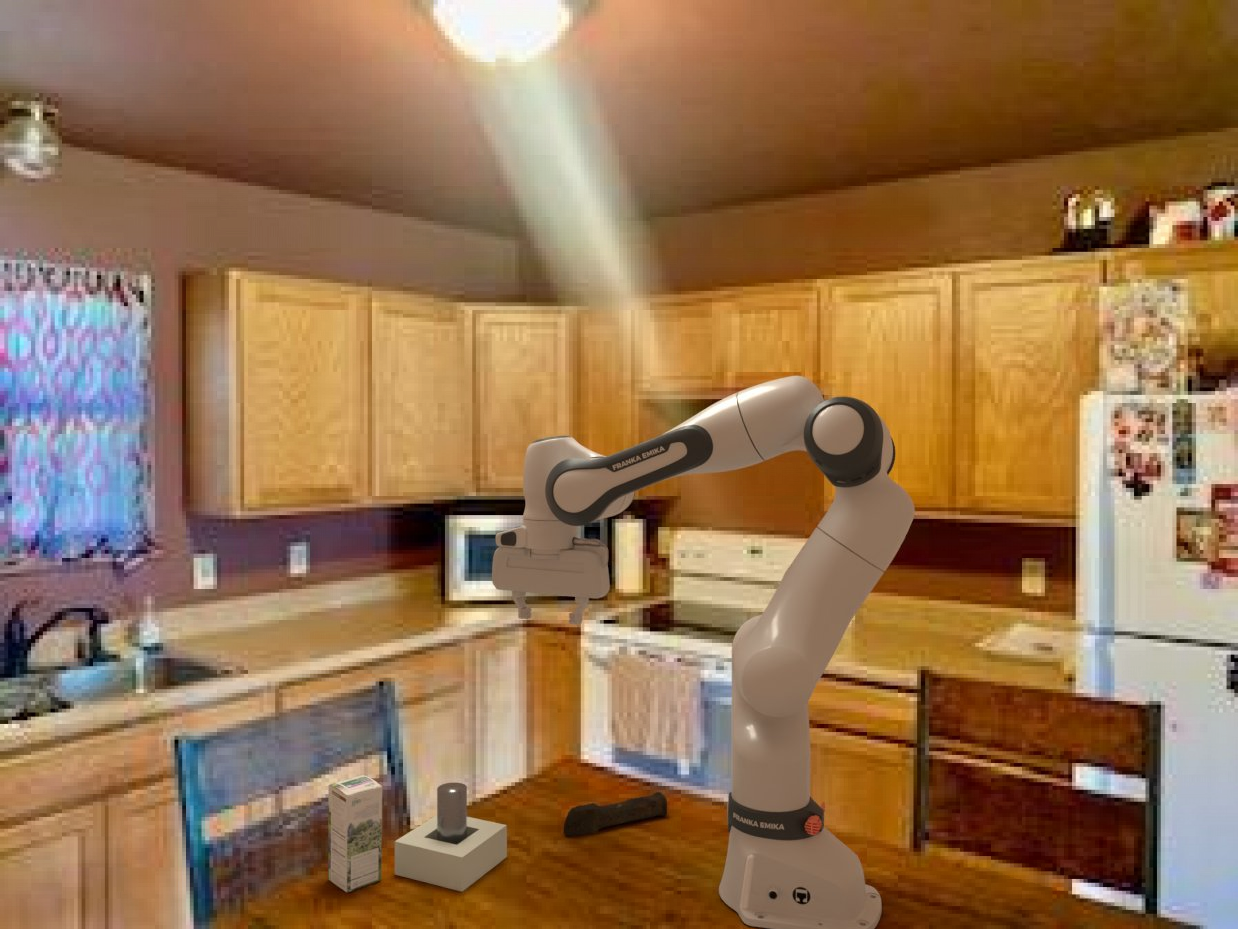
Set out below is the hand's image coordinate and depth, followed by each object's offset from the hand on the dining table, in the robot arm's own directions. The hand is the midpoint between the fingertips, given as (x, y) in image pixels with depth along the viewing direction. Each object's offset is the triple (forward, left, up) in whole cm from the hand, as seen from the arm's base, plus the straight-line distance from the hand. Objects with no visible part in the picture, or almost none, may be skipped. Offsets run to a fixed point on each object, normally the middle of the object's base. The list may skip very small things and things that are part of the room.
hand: (549, 621), depth 150 cm
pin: (+8, +16, -35) cm, 39 cm away
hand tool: (-9, -8, -36) cm, 37 cm away
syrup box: (+18, +26, -35) cm, 47 cm away
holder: (+8, +16, -35) cm, 39 cm away
